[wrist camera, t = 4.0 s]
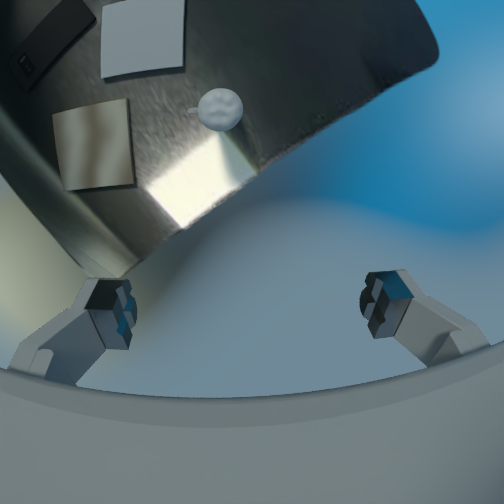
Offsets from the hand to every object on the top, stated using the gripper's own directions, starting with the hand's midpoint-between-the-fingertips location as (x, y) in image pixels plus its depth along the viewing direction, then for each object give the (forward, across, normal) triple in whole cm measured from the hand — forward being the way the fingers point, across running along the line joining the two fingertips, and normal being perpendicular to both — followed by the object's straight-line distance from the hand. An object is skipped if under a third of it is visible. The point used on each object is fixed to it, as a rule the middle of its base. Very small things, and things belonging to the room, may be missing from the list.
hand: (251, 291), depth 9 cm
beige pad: (+31, +20, 0) cm, 37 cm away
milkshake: (+31, +2, -4) cm, 31 cm away
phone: (+32, +27, -18) cm, 45 cm away
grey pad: (+31, +12, -15) cm, 36 cm away
